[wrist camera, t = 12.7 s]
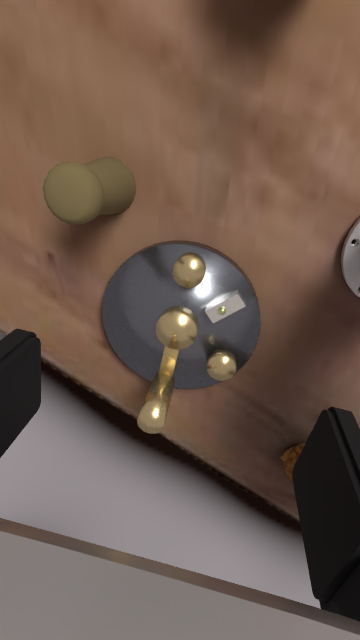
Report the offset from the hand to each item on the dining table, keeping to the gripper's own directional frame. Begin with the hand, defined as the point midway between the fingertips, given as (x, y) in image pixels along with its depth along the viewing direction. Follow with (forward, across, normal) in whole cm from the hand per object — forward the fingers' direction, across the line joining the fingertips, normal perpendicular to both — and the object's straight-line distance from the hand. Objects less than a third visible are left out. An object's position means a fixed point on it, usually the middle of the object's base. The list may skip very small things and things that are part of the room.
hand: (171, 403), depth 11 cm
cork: (+31, +13, -2) cm, 33 cm away
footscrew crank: (+28, +2, +16) cm, 32 cm away
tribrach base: (+30, +2, +12) cm, 33 cm away
